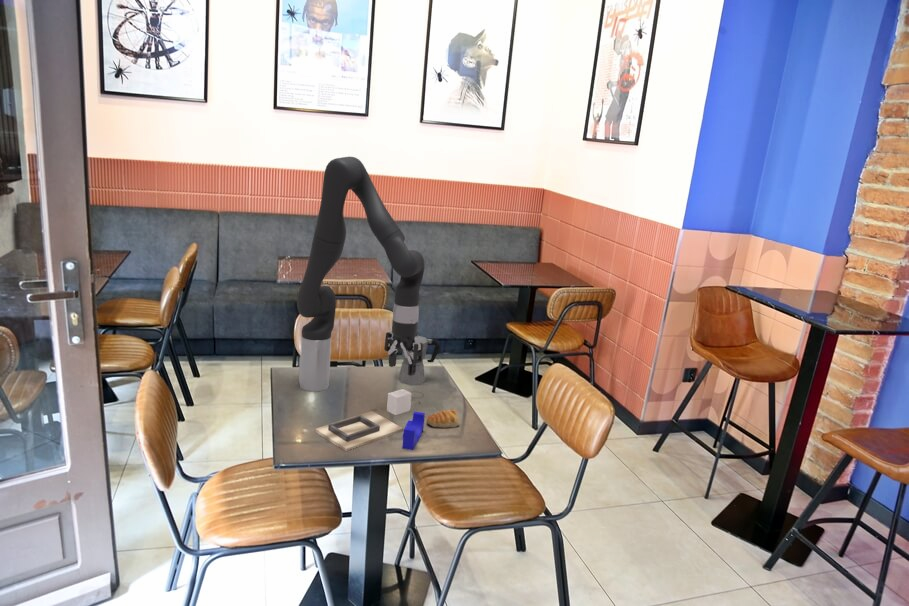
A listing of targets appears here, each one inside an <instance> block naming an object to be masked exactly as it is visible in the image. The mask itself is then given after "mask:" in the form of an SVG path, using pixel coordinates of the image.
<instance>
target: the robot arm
mask: <svg viewBox="0 0 909 606" xmlns="http://www.w3.org/2000/svg"><path fill="white" fill-rule="evenodd" d="M350 190H351V191H352V192H353V193H354V195H355V196H356V197H357V198H358V199H359V201H360V203H361V205H362V208H363V210H364V212H365V216H366V219H367V223H368V226H369V229H370V230H371V232H372V233H373V235H374V237H375V238H376V239H377V241H378V242H379V244H380V245H381V246H382V248H383V249H384V251H385V254H386V257H387V259H388V261H389V264H390V265H391V267H392V269H393V271H395V273H396V274H397V275H399V276H400V279H399V282H398V284H397V285H396V287H395V291H394V303H393V304H394V305H393V309H392V321H391V331H388V332H387V331H386V332H385V339H384V346H383V347H384V351H385V352H387V354H388V366H389V367H390V368H394V367H396V366H397V356H398V355H397V353H398V352H401V354H402V353H404V354H405V357H407V358H408V361H409V364H408V375H409V376H412V375H414V374H415V372H416V364H417V363H421V362H422V350H423V344H422V343H416V342H415V336H416V335H417V336H418V334H417V331H418V327H419V316H420V314H419V311H420V310H419V301H420V288H421V285H422V282H423V281H422V280H423V277H424V273H425V263H426V262H425V259H424V258H425V257H424V256H423V254H422V253H421V252H419V251H418V250H416V249H415V250H414V249H413V250H412V249H411V250H409V249H408V247H407V245H406V243H405V240H406V238H405V235H404V232H403V231H402V229H401V228H400V227H399V225H398V224H397V222H396V221H395V219H394V218H393V217H392V216H391V214H390V213H389V210H387V208H386V206H385V204H384V202H383V200H382V198H381V196H380V195H379V193H378V191H377V189H376V187H375V184H374V183H373V181H372V179H371V176H370V174H369V172H368V171H367V169H366V167H365V165H364V163H363V162H362V161H361V160H360V159H359V158H357V157H355V156H343V157H337V158H334V159H331V160H330V161H328V163H327V165H326V166H325V170H324V174H323V181H322V190H321V191H322V192H321V199H320V200H321V201H320V206H319V210H318V214H317V215H318V216H317V221H316V224H315V229H314V233H313V236H312V243H311V247H310V253H309V256H308V261H307V266H306V268H305V271H304V275H303V279H302V281H301V284H300V287H299V291H298V294H297V299H296V307H297V311H298V314H300V316H301V317H303V318H312V319H311V320H310V321H309V322H307V323H306V324H305V325H303V326H302V328H301V339H300V340H301V341H300V344H301V345H300V356H299V364H298V384H299V387H300V389H301V390H304V391H306V392H323V391H325V390H327V389H328V388H330V373H331V372H330V371H331V349H332V332H333V330H334V327H335V317H336V309H337V307H336V306H337V299H336V294H335V292H334V290H333V289H332V287H330V286H327V285H322V283H323V281H324V279H325V278H326V276H327V275H328V273H329V272H331V270H332V269H333V267H334V266H335V265H336V263H337V262H338V261H339V259H340V258H341V256H342V254H343V251H344V246H345V242H346V237H347V227H346V221H345V218H344V207H345V202H346V198H347V195H348V193H349V191H350ZM410 351H412V353H408V352H410ZM411 356H412V357H413V360H412V358H411ZM417 356H418V359H417Z"/></svg>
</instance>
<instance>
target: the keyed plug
mask: <svg viewBox="0 0 909 606" xmlns="http://www.w3.org/2000/svg"><path fill="white" fill-rule="evenodd" d="M386 403H387V405H386V412H388V413H390V414H392V415H394V416H399V415H401V414H404V413H407V412H410V411H411V407H412V406H411V405H412V392H410V391H408V390H406V389H404V388H402V389H397V390H395V391H392V392H388V393H387V402H386Z"/></svg>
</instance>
